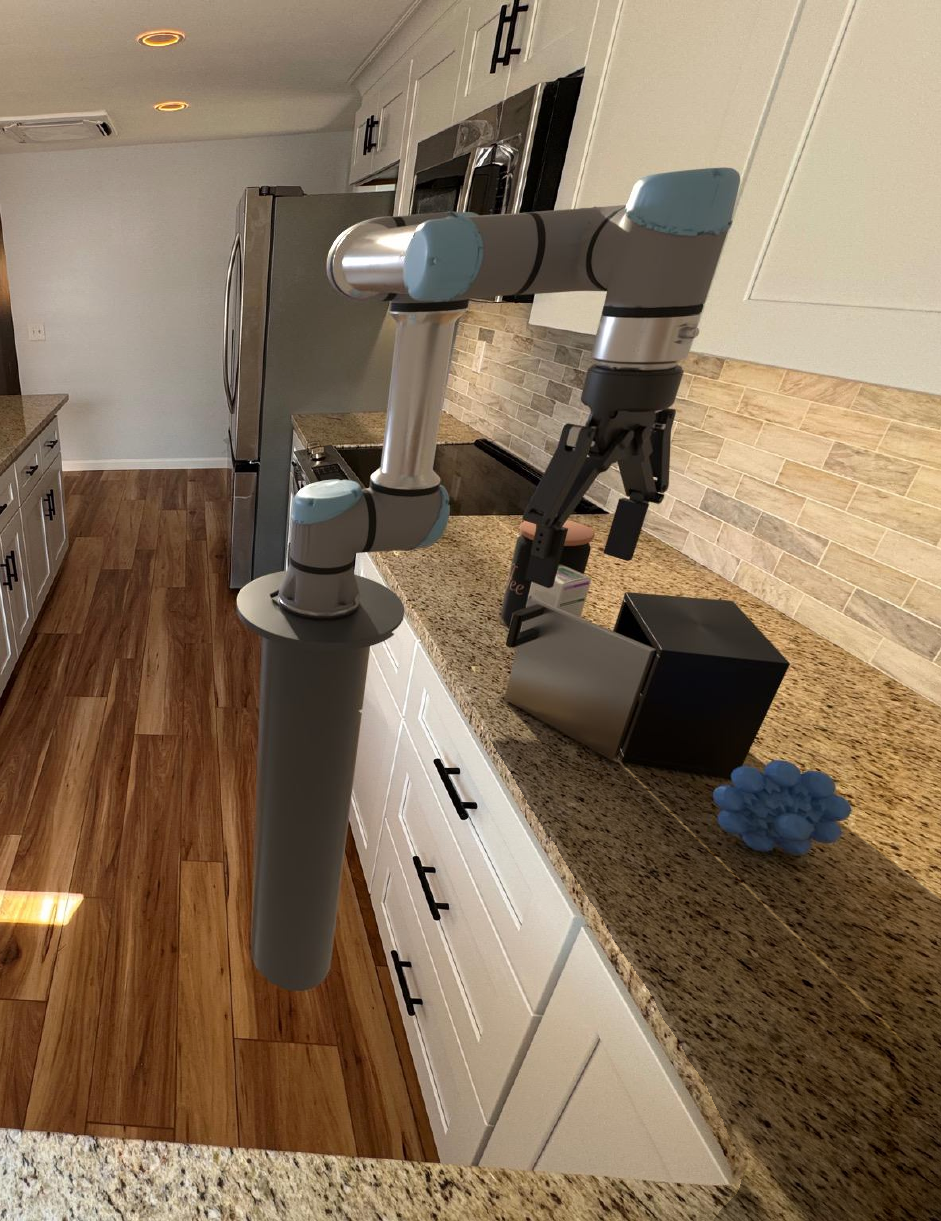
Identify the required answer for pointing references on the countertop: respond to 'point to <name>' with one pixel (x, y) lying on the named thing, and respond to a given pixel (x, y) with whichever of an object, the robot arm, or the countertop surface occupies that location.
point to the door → (576, 675)
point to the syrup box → (564, 591)
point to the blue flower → (781, 807)
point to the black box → (698, 683)
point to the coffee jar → (517, 585)
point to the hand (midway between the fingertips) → (579, 569)
